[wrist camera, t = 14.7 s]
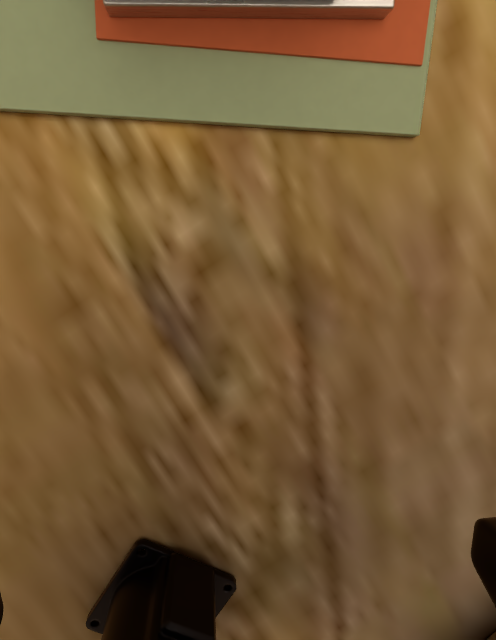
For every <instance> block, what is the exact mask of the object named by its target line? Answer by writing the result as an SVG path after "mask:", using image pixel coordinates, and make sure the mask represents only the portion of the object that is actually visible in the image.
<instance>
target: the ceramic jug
mask: <svg viewBox="0 0 496 640" xmlns="http://www.w3.org/2000/svg"><path fill="white" fill-rule="evenodd" d="M486 640H496V631H495V632H494V633H493V634H492V635H491V636H490V637H489V638H487V639H486Z"/></svg>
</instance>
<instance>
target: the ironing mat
mask: <svg viewBox="0 0 496 640" xmlns="http://www.w3.org/2000/svg"><path fill="white" fill-rule="evenodd" d="M436 7H437V0H395V3H394V8H393V10H392V11H391V12H390V13H389V14H388V15H387V16H386V17H385V18H384V19H303V18H187V17H110V16H109V14H108V12H107V10H106V8H105V6H104V4H103V0H0V111H7V112H23V113H39V114H55V115H71V116H87V117H102V118H118V119H134V120H150V121H166V122H182V123H198V124H214V125H230V126H246V127H262V128H277V129H293V130H309V131H325V132H341V133H357V134H373V135H389V136H405V137H415V136H418V135H419V134H420V127H421V120H422V112H423V105H424V97H425V90H426V82H427V75H428V67H429V60H430V52H431V45H432V37H433V30H434V22H435V15H436Z"/></svg>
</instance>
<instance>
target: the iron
mask: <svg viewBox="0 0 496 640" xmlns="http://www.w3.org/2000/svg"><path fill="white" fill-rule="evenodd" d="M394 3H395V0H103V4H104V6H105V8H106V10H107V12H108V14H109V16H110V17H187V18H303V19H384V18H385V17H386V16H387V15H388V14H389V13H390V12H391V11H392V10H393V8H394Z"/></svg>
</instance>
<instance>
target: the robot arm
mask: <svg viewBox="0 0 496 640" xmlns="http://www.w3.org/2000/svg"><path fill="white" fill-rule="evenodd" d="M140 549H145V550H144V551H143V550H140ZM471 558H472V562H473V565H474V567H475V569H476V571H477V573H478V575H479V577H480V579H481V580H482V582H483V584H484V586H485V588H486V590H487V592H488V594H489V596H490V598H491V599H492V601H493V603H494V605H495V607H496V517H492V518H482V519H478V520H477V521H476V523H475V526H474V533H473V541H472V548H471ZM227 584H229V585H227ZM235 590H236V579H235V578H234V577H233V576H231V575H229V574H227V573H224V572H222V571H220V570H217V569H215V568H213V567H210V566H208V565H205V564H203V563H201V562H198V561H196V560H194V559H191V558H189V557H186V556H184V555H182V554H179V553H177V552H175V551H172V550H170V549H167V548H165V547H163V546H160V545H158V544H156V543H153V542H151V541H148V540H145V539H142V540H138V541H137V542H136V543H135V544H134V546H133V547H132V549H131V550H130V552H129V553H128V555H127V556H126V558H125V559H124V561H123V562H122V564H121V565H120V567H119V569H118V570H117V572H116V573H115V575H114V576H113V578H112V579H111V581H110V582H109V584H108V585H107V587H106V588H105V590H104V591H103V593H102V595H101V596H100V598H99V599H98V601H97V602H96V604H95V605H94V607H93V608H92V610H91V611H90V613H89V615H88V618H87V621H86V627H87V628H88V629H90V630H92V631H95V632H98V633H101V634H103V635H102V639H101V640H216V622H215V618H216V617H217V615H218V614H219V612H220V611H221V610H222V608H223V607H224V606H225V604H226V603H227V601H228V600H229V599H230V597H231V596H232V595H233V593H234V592H235ZM2 617H3V602H2V597H1V593H0V624H1V621H2Z"/></svg>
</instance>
